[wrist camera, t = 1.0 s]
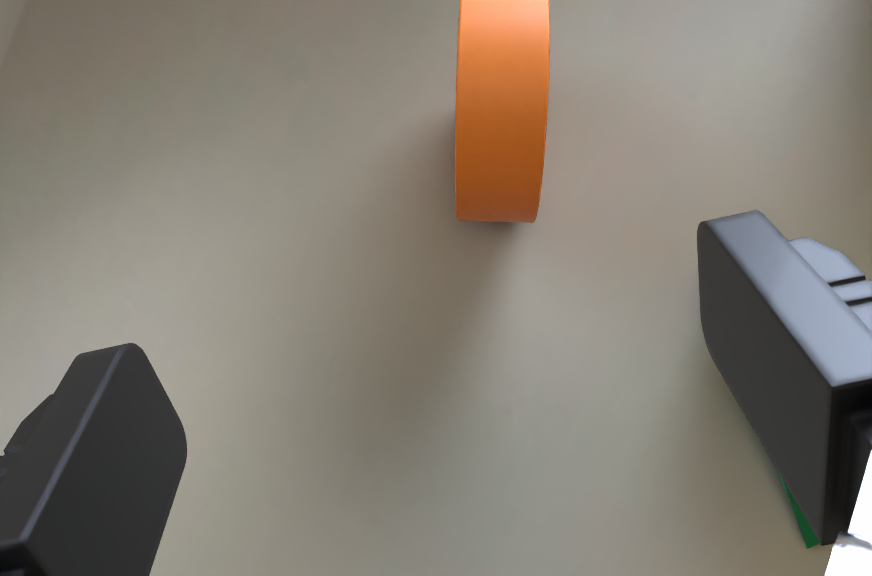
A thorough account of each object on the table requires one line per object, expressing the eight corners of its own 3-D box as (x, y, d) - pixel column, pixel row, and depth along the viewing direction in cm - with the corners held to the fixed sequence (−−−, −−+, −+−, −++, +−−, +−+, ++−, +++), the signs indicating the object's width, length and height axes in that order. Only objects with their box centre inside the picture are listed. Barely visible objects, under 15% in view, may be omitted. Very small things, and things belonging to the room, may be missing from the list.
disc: (466, 43, 35) (462, -76, 25) (533, 44, 34) (552, -75, 25) (459, 240, 34) (451, 189, 24) (527, 242, 33) (546, 191, 24)
